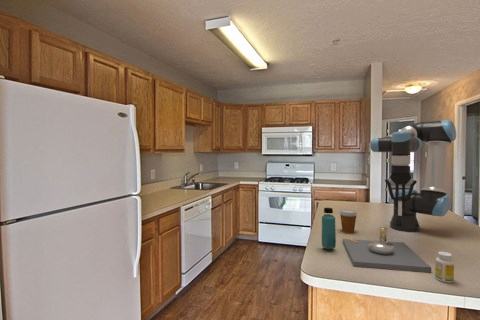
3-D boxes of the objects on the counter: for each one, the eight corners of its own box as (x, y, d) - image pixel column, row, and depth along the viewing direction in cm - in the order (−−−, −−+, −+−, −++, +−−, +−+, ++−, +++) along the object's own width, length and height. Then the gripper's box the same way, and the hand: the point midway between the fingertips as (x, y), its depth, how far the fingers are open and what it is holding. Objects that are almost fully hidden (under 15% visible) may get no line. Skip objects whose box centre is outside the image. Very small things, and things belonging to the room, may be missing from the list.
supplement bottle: (434, 279, 95) (434, 253, 95) (436, 274, 99) (436, 249, 99) (453, 284, 92) (453, 257, 91) (454, 279, 96) (454, 253, 95)
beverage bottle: (334, 253, 121) (334, 210, 120) (319, 250, 124) (319, 208, 124) (337, 248, 126) (337, 207, 126) (323, 246, 130) (323, 206, 129)
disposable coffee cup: (358, 234, 147) (358, 213, 146) (340, 233, 149) (340, 212, 148) (354, 229, 156) (355, 209, 156) (338, 228, 158) (338, 208, 158)
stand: (403, 246, 128) (403, 241, 128) (431, 272, 101) (431, 266, 101) (342, 242, 134) (342, 238, 134) (353, 266, 107) (353, 260, 107)
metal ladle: (393, 256, 111) (393, 240, 110) (366, 251, 116) (367, 236, 116) (395, 243, 126) (395, 228, 126) (372, 239, 132) (372, 225, 132)
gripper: (417, 164, 122) (416, 215, 123) (385, 164, 129) (384, 211, 130) (417, 165, 116) (416, 218, 116) (384, 164, 123) (383, 214, 123)
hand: (399, 214), depth 123 cm, fingers closed
